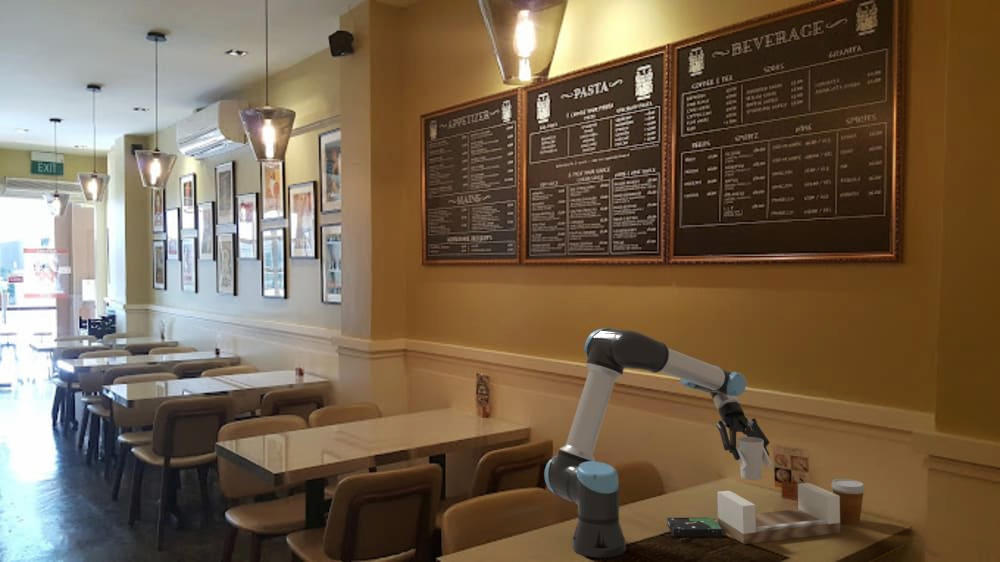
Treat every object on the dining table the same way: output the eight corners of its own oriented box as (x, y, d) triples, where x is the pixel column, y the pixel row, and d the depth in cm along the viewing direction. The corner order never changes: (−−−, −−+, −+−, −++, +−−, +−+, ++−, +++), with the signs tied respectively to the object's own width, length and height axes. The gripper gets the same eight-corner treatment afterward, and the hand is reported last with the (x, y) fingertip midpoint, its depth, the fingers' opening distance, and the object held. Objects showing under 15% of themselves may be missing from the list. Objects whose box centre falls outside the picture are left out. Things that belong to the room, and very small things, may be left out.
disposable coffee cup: (845, 528, 212) (844, 488, 212) (824, 517, 221) (824, 479, 221) (872, 525, 214) (872, 485, 214) (851, 514, 223) (850, 477, 223)
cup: (733, 477, 225) (732, 439, 225) (745, 472, 230) (745, 435, 230) (756, 482, 219) (756, 443, 219) (768, 476, 225) (768, 439, 225)
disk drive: (673, 538, 208) (723, 537, 207) (673, 529, 208) (723, 528, 207) (666, 526, 219) (714, 525, 218) (666, 517, 218) (714, 516, 218)
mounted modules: (743, 533, 201) (742, 506, 201) (717, 517, 215) (717, 491, 215) (840, 522, 208) (839, 495, 208) (809, 507, 222) (808, 482, 222)
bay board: (743, 544, 201) (743, 531, 201) (718, 527, 215) (717, 515, 215) (840, 532, 208) (840, 520, 208) (809, 517, 222) (809, 505, 222)
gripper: (751, 411, 242) (781, 470, 226) (697, 415, 237) (723, 475, 222) (760, 398, 237) (791, 458, 221) (704, 402, 232) (731, 463, 217)
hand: (757, 466), depth 222 cm, fingers closed on cup, 8 cm apart
